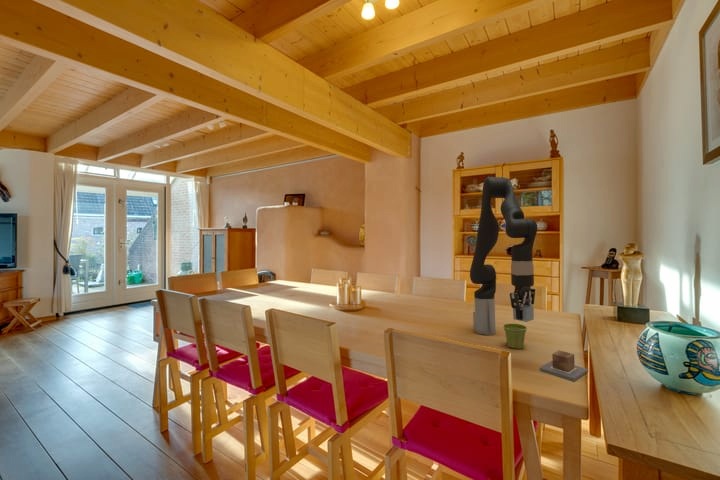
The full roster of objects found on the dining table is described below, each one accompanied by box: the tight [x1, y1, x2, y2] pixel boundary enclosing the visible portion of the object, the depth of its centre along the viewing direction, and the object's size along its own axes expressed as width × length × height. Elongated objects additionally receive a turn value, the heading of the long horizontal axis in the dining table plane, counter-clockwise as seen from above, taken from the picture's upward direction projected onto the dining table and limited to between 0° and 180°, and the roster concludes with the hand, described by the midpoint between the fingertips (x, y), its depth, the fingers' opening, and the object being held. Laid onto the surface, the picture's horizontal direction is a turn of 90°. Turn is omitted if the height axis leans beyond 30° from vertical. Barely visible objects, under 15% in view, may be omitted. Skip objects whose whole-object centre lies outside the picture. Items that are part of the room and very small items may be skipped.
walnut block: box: [551, 349, 576, 372], centre depth 112 cm, size 5×5×5 cm
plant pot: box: [502, 323, 528, 350], centre depth 137 cm, size 9×9×9 cm
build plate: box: [539, 360, 589, 382], centre depth 112 cm, size 11×11×1 cm
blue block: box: [512, 303, 535, 323], centre depth 119 cm, size 5×5×5 cm
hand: (523, 317), depth 119 cm, fingers closed on blue block, 5 cm apart
